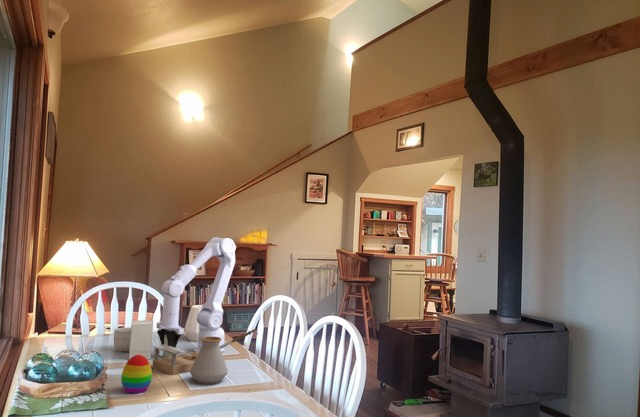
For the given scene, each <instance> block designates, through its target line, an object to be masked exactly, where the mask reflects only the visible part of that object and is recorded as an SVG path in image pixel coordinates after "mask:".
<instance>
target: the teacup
mask: <svg viewBox="0 0 640 417" xmlns="http://www.w3.org/2000/svg"><path fill="white" fill-rule="evenodd" d="M113 331H114V332H113V346H114V348H116V350H117V351H119V352H129V349H130V336H131V327H119V328H118V327H117V328H115V329H114V330H113Z"/></svg>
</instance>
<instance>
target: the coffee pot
mask: <svg viewBox="0 0 640 417" xmlns="http://www.w3.org/2000/svg"><path fill="white" fill-rule="evenodd" d="M253 333H255V334H254V335H256V336H258V335H259V334H258V331H257V329H256V328H254V329H252V330H248V331H247V332H245V333H242V334H240V335H239V336H237V337H235V338H233V339H231V340H230V341H228V342H224V344H223V345H221V346H219V343H220V341H221V338H220V337H202V338H201V341H202V347H201V349H200V351H199V354H198V356H197V358H196V360H195V362H194V364H193V366H192V368H191V370H190V372H189V373H190V376H191V377H192V378H193V379H194V380H195V381H196V383H199V384H203V385H204V384H207V385H209V384H210V385H212V384H218V383H220V382H221V381H222V380H223V379H224V378H225V377H226V376H227V375H228V371H229V370H228V367H227V364H226V361H225V358H224V355H223V352H221V350H220V349H221V348H223V347H224V348H225V347H227V346H228V345H231V344H233V343H235V342H238V341H240V340H242V339H244V338H246V337H247V336H250V335H252V334H253Z"/></svg>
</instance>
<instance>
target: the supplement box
mask: <svg viewBox="0 0 640 417" xmlns="http://www.w3.org/2000/svg"><path fill="white" fill-rule="evenodd" d="M130 328H131V336H130V349H129V351H128V360H129V359H130V358H132V357H133V356H135V355H142V356H144V357H145V358H146V359H147V360H148V361H149V360H151V359H152V358H151V357H152V345H153V344H152V343H153V333H154V332H153V331H154V321H153V320H152V319H151V320H150V319H149V320H148V319H147V320H131V326H130Z"/></svg>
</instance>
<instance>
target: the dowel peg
mask: <svg viewBox="0 0 640 417" xmlns="http://www.w3.org/2000/svg"><path fill="white" fill-rule="evenodd" d="M164 344H165V345H168V340H167V336H166V334H165V335H164ZM162 352H163V353H162V358H165V357H170V356H172V354H170V353H167V352H165V351H162Z"/></svg>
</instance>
